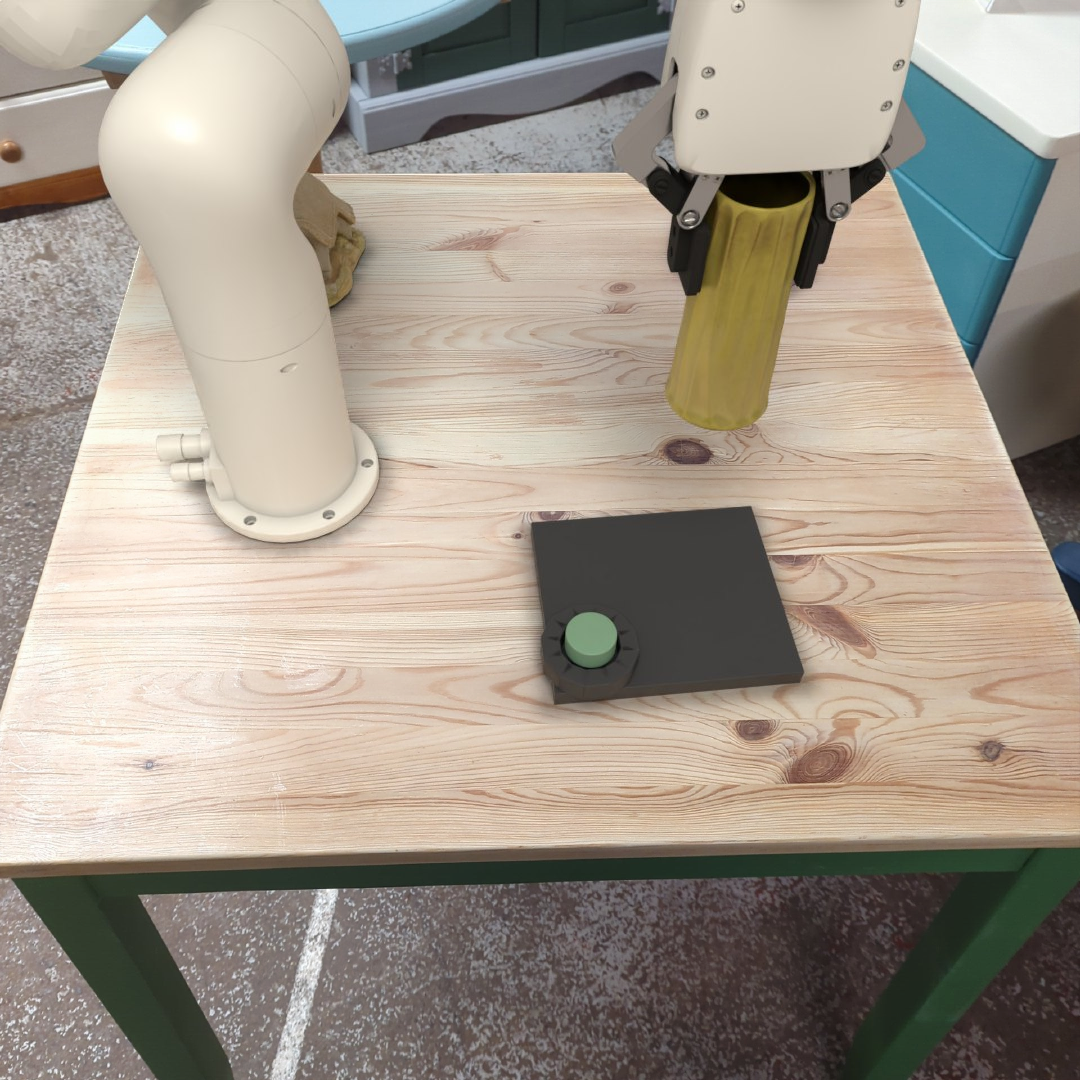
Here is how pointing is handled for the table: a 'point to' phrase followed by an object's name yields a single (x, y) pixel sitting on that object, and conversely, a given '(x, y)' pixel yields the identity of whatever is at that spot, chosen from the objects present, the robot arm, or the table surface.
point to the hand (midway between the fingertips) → (742, 273)
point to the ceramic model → (329, 234)
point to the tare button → (590, 639)
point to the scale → (663, 604)
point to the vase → (740, 300)
